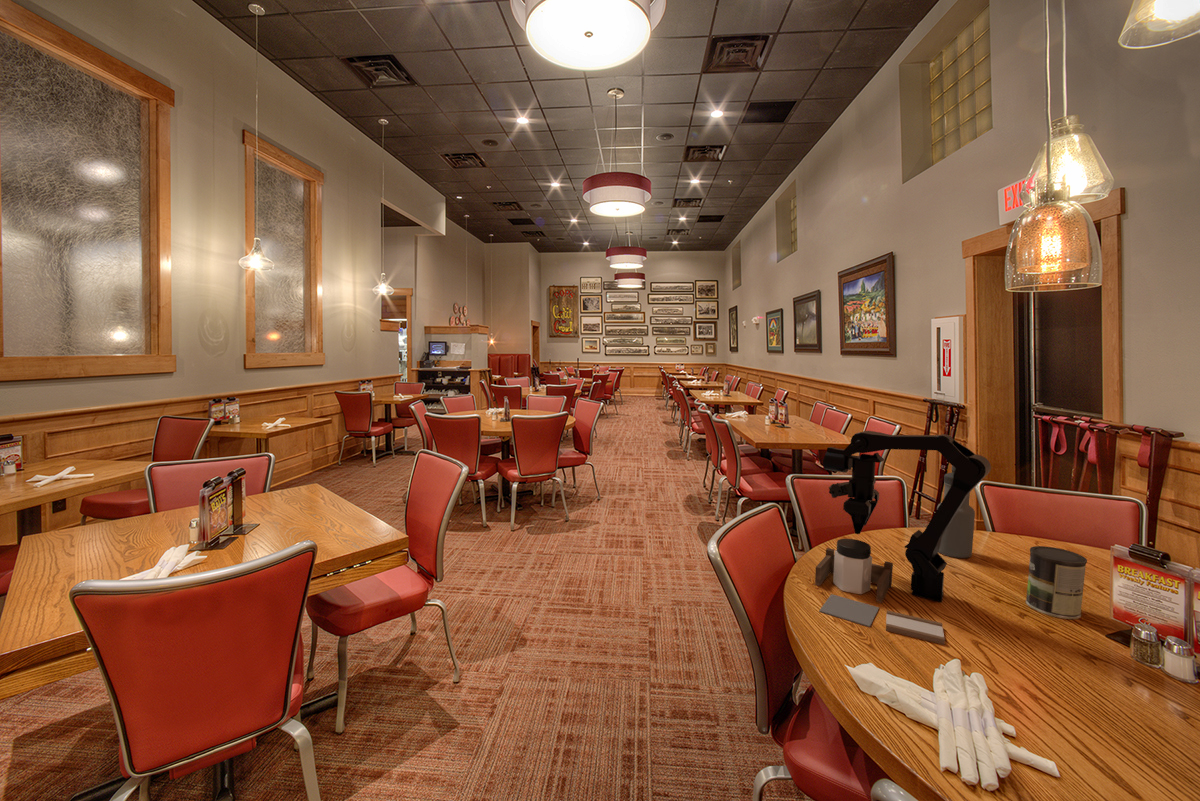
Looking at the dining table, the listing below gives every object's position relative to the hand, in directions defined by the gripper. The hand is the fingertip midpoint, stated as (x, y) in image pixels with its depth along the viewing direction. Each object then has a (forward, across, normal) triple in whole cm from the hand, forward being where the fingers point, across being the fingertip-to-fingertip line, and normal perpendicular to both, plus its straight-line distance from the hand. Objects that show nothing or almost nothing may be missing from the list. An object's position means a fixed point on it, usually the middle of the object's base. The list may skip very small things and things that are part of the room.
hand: (860, 529), depth 141 cm
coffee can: (+13, -7, +42) cm, 45 cm away
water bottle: (+13, -36, +21) cm, 44 cm away
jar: (+13, +10, 0) cm, 17 cm away
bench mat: (+13, +25, +2) cm, 28 cm away
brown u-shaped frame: (+13, +9, 0) cm, 16 cm away
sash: (+13, +25, +16) cm, 32 cm away
